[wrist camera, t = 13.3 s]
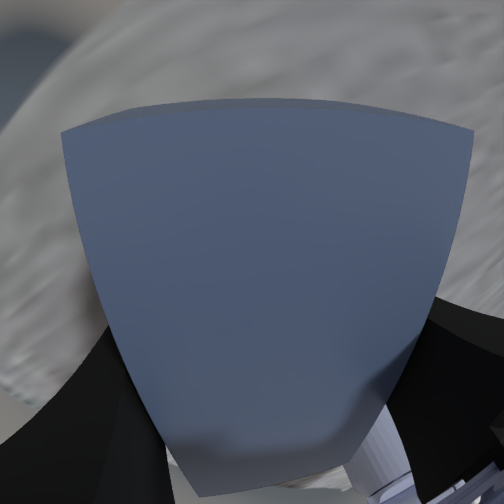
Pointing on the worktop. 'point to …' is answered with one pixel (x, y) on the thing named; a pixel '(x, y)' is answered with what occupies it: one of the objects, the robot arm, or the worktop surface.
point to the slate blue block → (265, 269)
